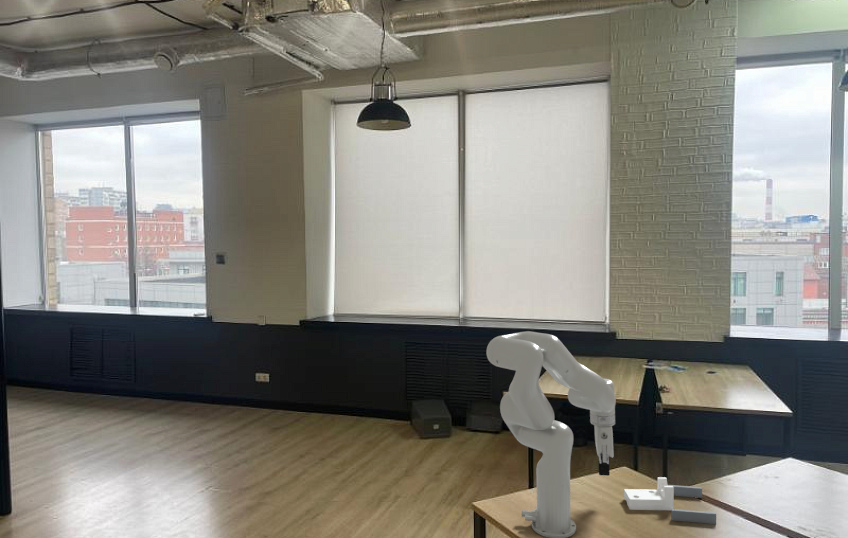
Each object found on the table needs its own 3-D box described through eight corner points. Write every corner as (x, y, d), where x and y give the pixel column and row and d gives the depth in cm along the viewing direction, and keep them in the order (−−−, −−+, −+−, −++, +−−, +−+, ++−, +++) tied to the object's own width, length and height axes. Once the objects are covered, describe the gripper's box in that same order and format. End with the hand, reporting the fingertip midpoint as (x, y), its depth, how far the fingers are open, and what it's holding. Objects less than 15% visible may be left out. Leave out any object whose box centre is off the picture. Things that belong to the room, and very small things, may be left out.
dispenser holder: (671, 520, 169) (671, 510, 169) (661, 493, 187) (661, 484, 186) (716, 524, 166) (716, 514, 166) (701, 496, 184) (701, 487, 184)
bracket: (665, 500, 182) (665, 477, 182) (673, 511, 175) (673, 487, 175) (624, 499, 183) (623, 476, 183) (630, 510, 176) (630, 486, 176)
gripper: (617, 427, 173) (618, 485, 174) (612, 410, 187) (614, 464, 189) (591, 426, 174) (593, 484, 176) (589, 410, 189) (590, 463, 190)
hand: (604, 474), depth 182 cm, fingers closed
